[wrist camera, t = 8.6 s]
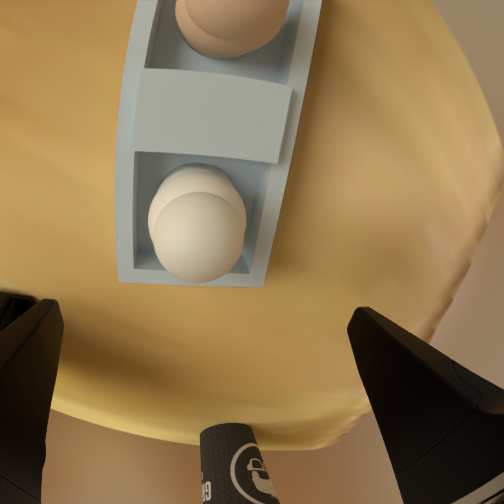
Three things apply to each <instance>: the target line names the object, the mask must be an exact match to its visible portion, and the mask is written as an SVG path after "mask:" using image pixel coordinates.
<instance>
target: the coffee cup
mask: <svg viewBox="0 0 504 504" xmlns="http://www.w3.org/2000/svg"><path fill="white" fill-rule="evenodd" d="M200 454H201V475H202V495H203V504H280V503H279V501H278V498H277V496H276V493H275V491H274V488H273V486H272V483H271V480H270V478H269V475H268V473H267V470H266V467H265V465H264V462H263V459H262V457H261V454H260V451H259V448H258V445H257V443H256V440H255V437H254V434H253V431H252V429H251V428H250V427H249V426H247V425H244V424H238V423H228V424H220V425H216V426H212V427H210V428H207V429H205V430H204V431H203V432H202V433H201V434H200Z"/></svg>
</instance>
